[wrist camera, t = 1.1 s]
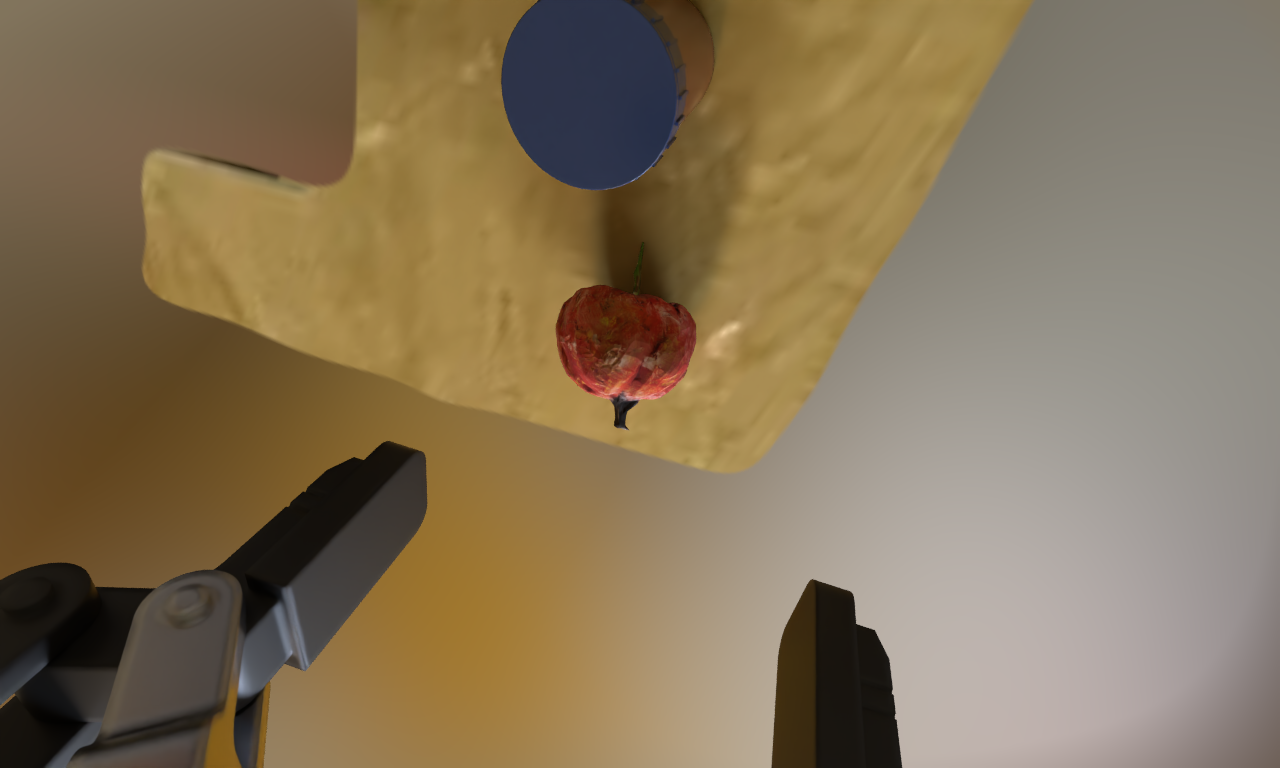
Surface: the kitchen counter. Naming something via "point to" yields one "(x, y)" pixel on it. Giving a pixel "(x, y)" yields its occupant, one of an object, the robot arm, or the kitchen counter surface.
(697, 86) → the jar
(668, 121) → the lid
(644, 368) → the pomegranate
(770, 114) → the kitchen counter surface
